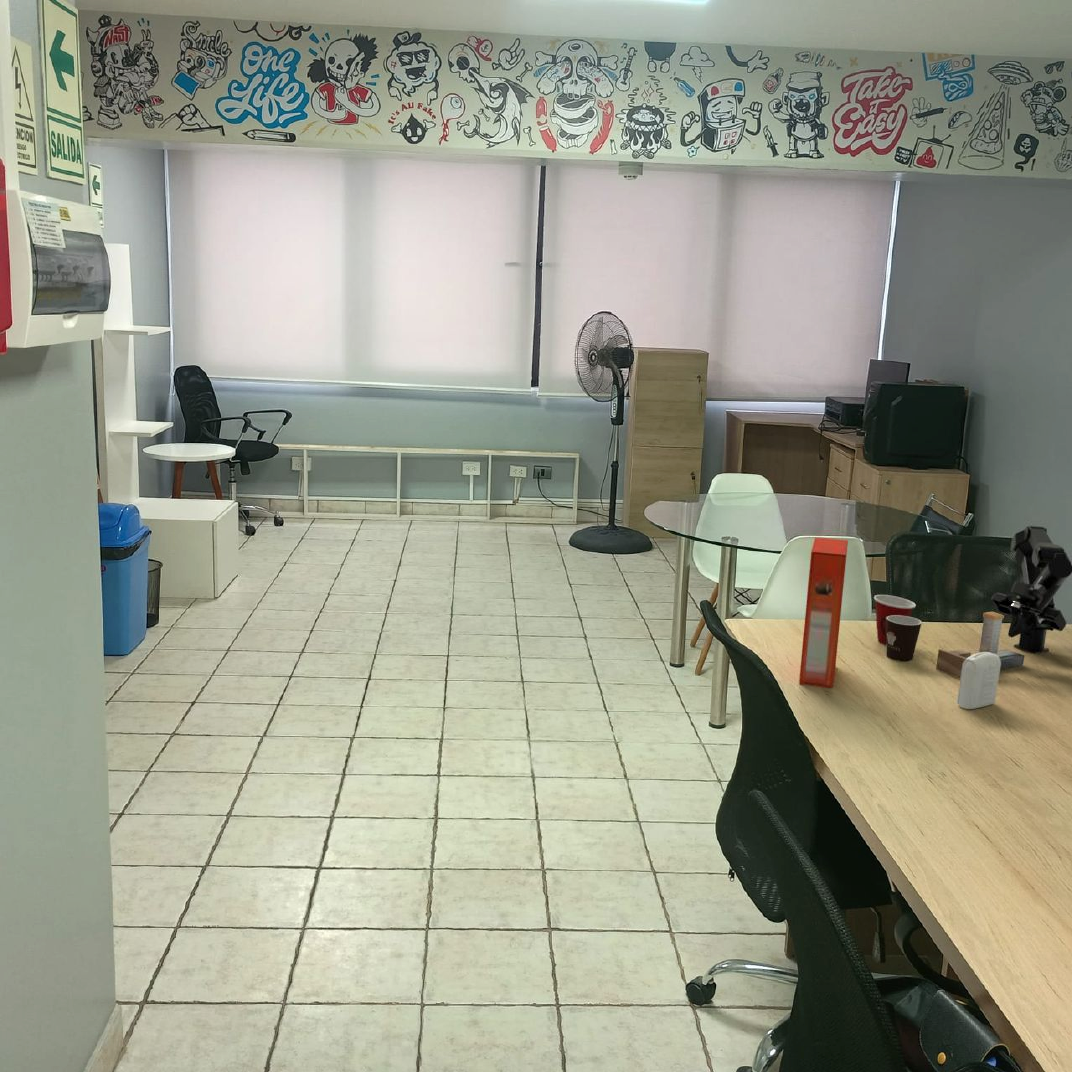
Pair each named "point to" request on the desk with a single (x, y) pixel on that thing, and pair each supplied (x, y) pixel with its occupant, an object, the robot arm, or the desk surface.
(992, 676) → the photo printer
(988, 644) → the grey orange-topped post
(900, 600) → the plastic cup
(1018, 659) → the sleeve
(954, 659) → the socket
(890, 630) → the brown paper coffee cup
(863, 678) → the desk surface
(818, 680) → the file binder
